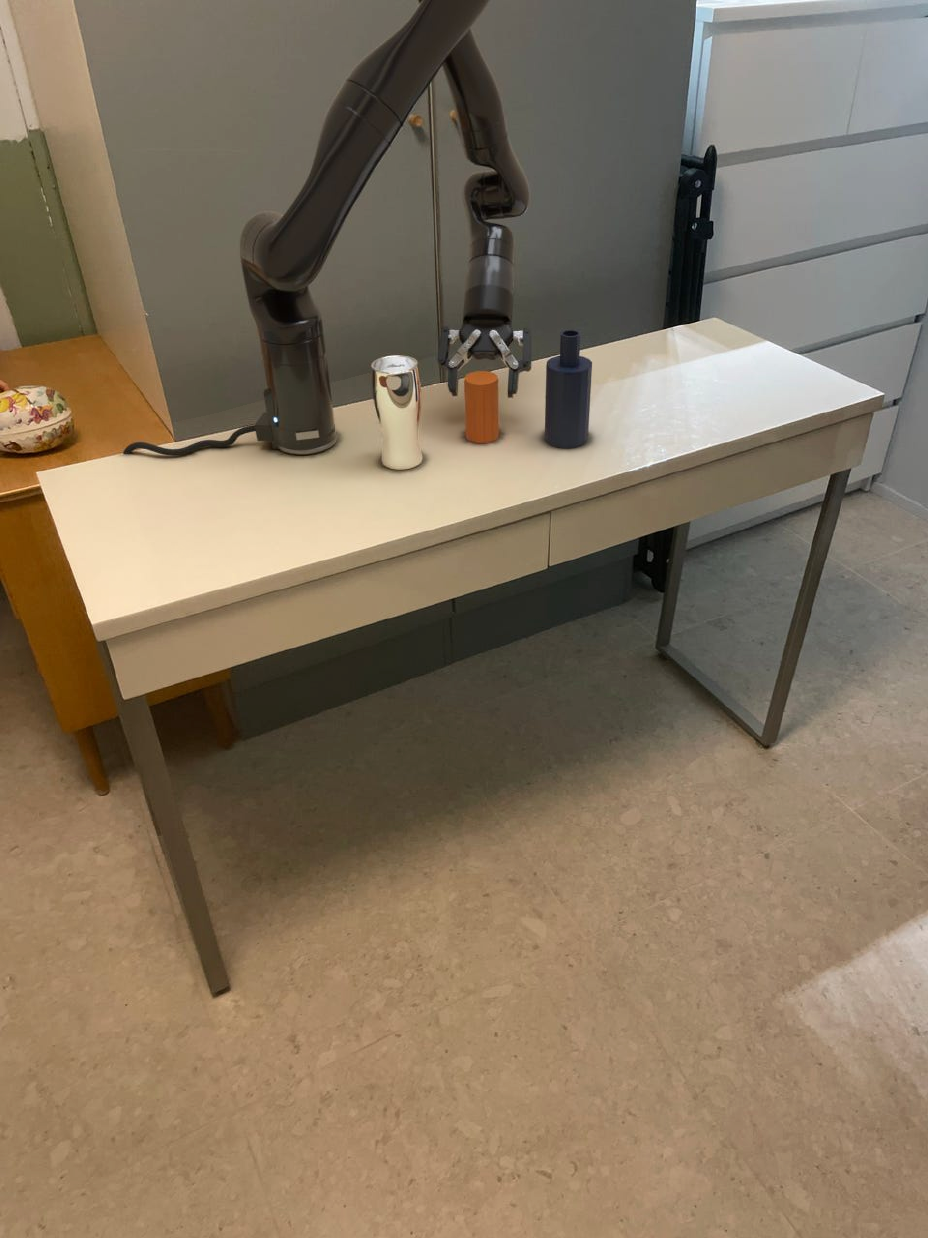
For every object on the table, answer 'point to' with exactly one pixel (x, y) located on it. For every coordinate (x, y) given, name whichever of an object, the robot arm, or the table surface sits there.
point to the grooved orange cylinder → (481, 406)
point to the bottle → (568, 394)
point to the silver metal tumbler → (398, 409)
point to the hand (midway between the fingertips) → (482, 395)
